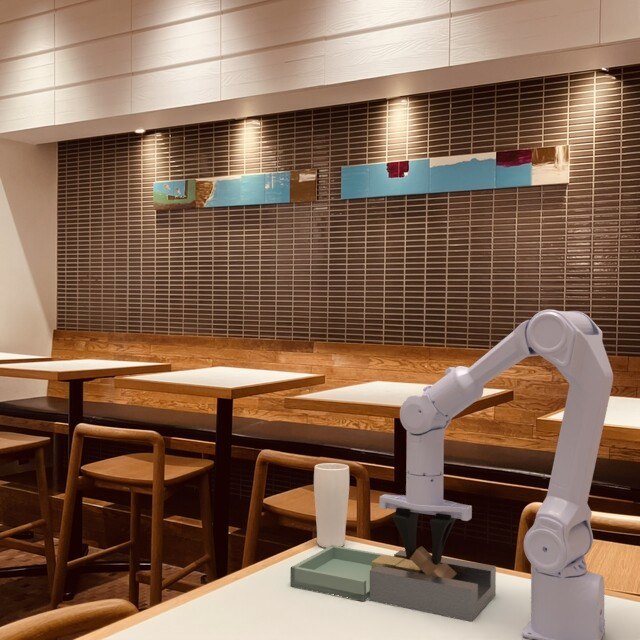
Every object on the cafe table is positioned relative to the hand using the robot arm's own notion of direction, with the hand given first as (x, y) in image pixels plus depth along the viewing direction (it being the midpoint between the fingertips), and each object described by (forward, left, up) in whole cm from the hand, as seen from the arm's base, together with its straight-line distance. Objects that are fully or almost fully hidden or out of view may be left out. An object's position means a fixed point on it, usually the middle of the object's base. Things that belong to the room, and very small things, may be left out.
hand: (423, 560), depth 115 cm
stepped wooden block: (-4, 0, -3) cm, 5 cm away
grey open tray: (-2, 0, -6) cm, 6 cm away
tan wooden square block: (+6, 0, -3) cm, 7 cm away
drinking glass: (+25, -16, -6) cm, 30 cm away
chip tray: (+13, 0, -6) cm, 14 cm away
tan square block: (+2, 0, -3) cm, 4 cm away
